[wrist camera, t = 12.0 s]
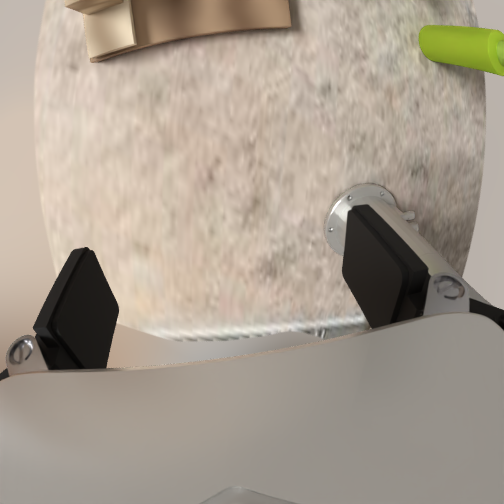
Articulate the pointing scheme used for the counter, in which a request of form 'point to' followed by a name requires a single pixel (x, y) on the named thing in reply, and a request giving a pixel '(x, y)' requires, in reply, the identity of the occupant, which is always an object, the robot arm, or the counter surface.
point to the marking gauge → (106, 24)
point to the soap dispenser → (464, 47)
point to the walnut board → (200, 19)
